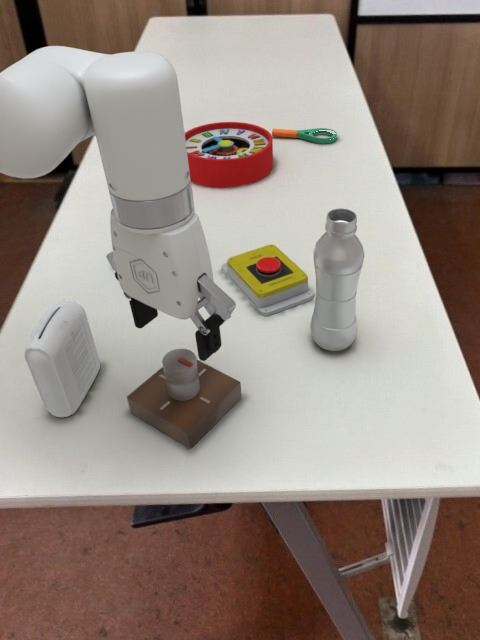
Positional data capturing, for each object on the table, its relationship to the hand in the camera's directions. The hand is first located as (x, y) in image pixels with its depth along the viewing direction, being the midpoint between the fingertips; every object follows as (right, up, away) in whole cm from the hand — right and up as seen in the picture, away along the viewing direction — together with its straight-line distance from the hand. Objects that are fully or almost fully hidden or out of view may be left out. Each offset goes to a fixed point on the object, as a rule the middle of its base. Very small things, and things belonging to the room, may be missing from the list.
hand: (177, 336), depth 65 cm
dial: (0, -6, +6) cm, 9 cm away
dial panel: (0, -9, +8) cm, 12 cm away
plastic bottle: (+20, -1, +16) cm, 26 cm away
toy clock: (+2, +37, +59) cm, 70 cm away
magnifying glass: (+19, +47, +69) cm, 86 cm away
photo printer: (-15, -7, +11) cm, 20 cm away
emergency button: (+10, +9, +27) cm, 30 cm away
